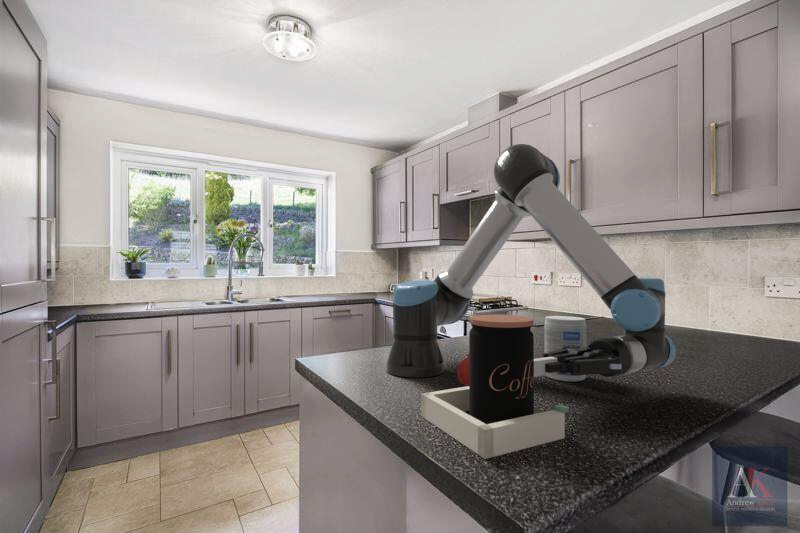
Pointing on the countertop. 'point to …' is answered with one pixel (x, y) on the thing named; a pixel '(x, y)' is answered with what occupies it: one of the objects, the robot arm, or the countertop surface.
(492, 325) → the coffee jar
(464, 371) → the onion
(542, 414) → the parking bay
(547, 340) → the supplement tub
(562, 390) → the countertop surface
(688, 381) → the countertop surface
